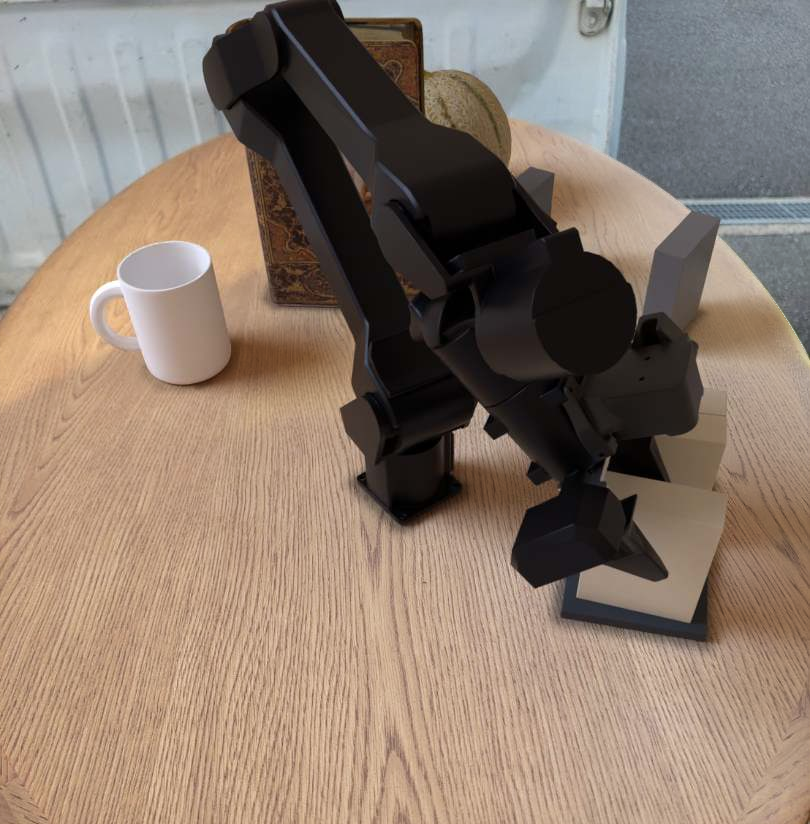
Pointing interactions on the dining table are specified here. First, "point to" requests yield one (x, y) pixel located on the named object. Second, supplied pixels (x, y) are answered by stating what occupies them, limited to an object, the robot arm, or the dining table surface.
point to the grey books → (658, 255)
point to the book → (278, 223)
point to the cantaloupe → (468, 109)
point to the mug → (169, 311)
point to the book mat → (633, 616)
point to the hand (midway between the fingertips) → (668, 545)
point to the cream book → (663, 548)
